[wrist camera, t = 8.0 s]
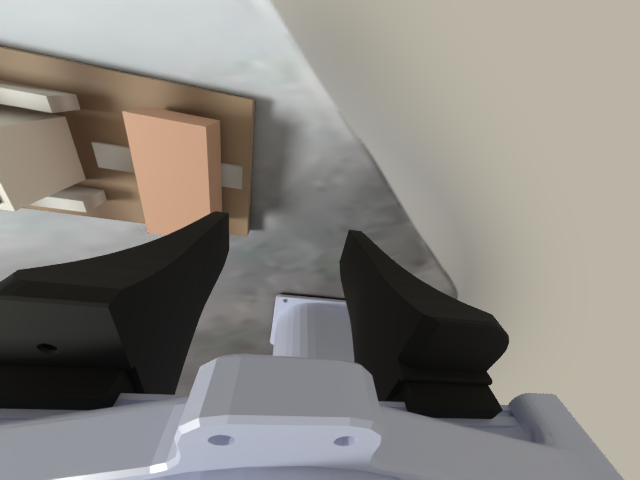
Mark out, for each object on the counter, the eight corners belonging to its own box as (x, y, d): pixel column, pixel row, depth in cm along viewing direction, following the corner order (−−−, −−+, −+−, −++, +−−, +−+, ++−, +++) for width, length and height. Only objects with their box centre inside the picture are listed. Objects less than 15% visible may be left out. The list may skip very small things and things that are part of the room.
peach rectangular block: (219, 120, 15) (205, 126, 13) (222, 222, 19) (211, 240, 17) (149, 106, 14) (122, 111, 12) (166, 214, 18) (147, 232, 16)
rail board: (255, 99, 16) (246, 102, 13) (249, 230, 21) (242, 250, 19) (-131, 18, 13) (-236, 3, 10) (-27, 194, 18) (-80, 212, 16)
